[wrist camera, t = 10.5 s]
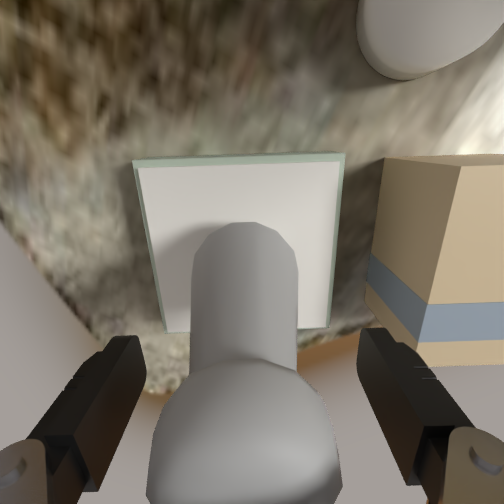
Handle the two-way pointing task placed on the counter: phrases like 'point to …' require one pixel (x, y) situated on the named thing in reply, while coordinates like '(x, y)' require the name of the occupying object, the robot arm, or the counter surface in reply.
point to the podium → (241, 219)
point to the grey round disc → (423, 33)
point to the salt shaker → (244, 387)
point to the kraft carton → (441, 257)
